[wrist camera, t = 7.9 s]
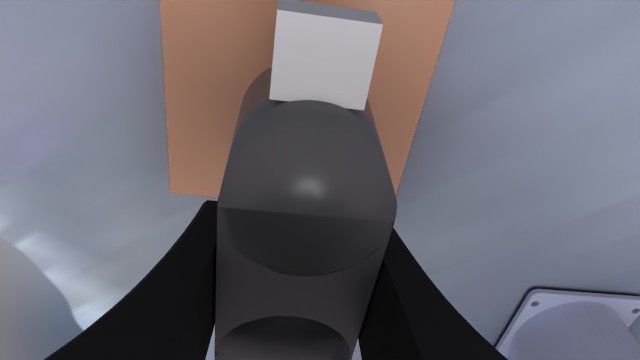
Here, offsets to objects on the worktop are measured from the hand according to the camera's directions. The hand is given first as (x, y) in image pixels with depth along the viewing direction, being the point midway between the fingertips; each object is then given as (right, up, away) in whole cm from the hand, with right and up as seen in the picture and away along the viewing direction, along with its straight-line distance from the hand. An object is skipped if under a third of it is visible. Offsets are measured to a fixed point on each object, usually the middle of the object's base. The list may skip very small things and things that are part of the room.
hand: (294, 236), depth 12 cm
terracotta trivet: (0, +5, +8) cm, 9 cm away
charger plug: (0, +1, +1) cm, 2 cm away
